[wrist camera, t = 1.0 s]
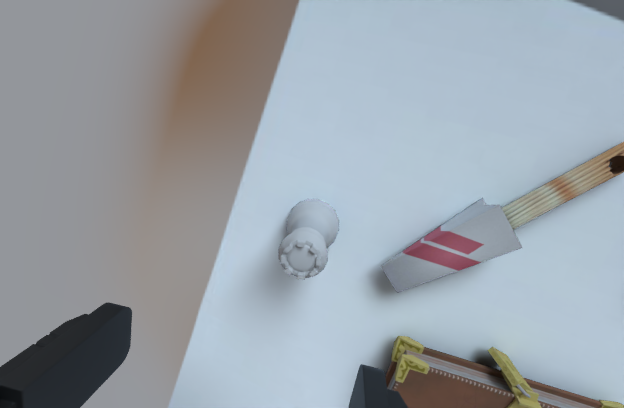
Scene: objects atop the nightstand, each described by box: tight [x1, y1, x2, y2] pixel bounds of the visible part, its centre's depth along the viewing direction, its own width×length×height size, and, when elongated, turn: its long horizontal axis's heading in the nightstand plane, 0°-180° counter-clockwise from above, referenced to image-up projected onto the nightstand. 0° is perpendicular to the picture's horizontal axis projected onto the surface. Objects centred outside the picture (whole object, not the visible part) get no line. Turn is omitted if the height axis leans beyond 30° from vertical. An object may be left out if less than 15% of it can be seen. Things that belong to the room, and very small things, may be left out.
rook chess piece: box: [279, 199, 339, 280], centre depth 23 cm, size 4×4×8 cm
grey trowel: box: [381, 142, 624, 293], centre depth 24 cm, size 4×3×20 cm
